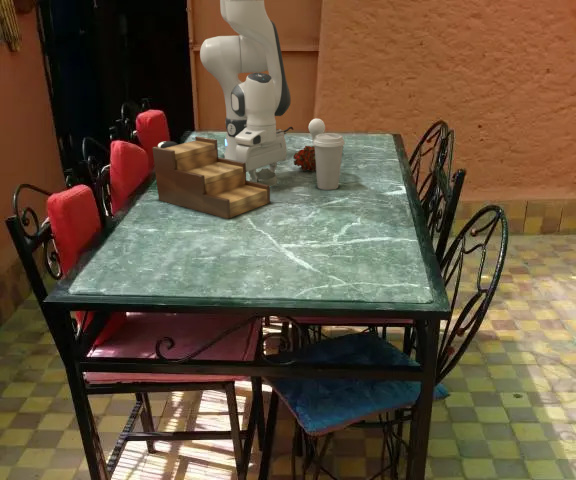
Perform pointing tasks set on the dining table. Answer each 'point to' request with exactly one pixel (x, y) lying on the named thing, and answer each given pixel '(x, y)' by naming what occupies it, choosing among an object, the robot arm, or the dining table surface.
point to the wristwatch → (266, 177)
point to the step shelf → (206, 180)
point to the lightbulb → (316, 128)
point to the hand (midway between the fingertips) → (263, 180)
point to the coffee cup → (328, 159)
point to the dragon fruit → (306, 158)
